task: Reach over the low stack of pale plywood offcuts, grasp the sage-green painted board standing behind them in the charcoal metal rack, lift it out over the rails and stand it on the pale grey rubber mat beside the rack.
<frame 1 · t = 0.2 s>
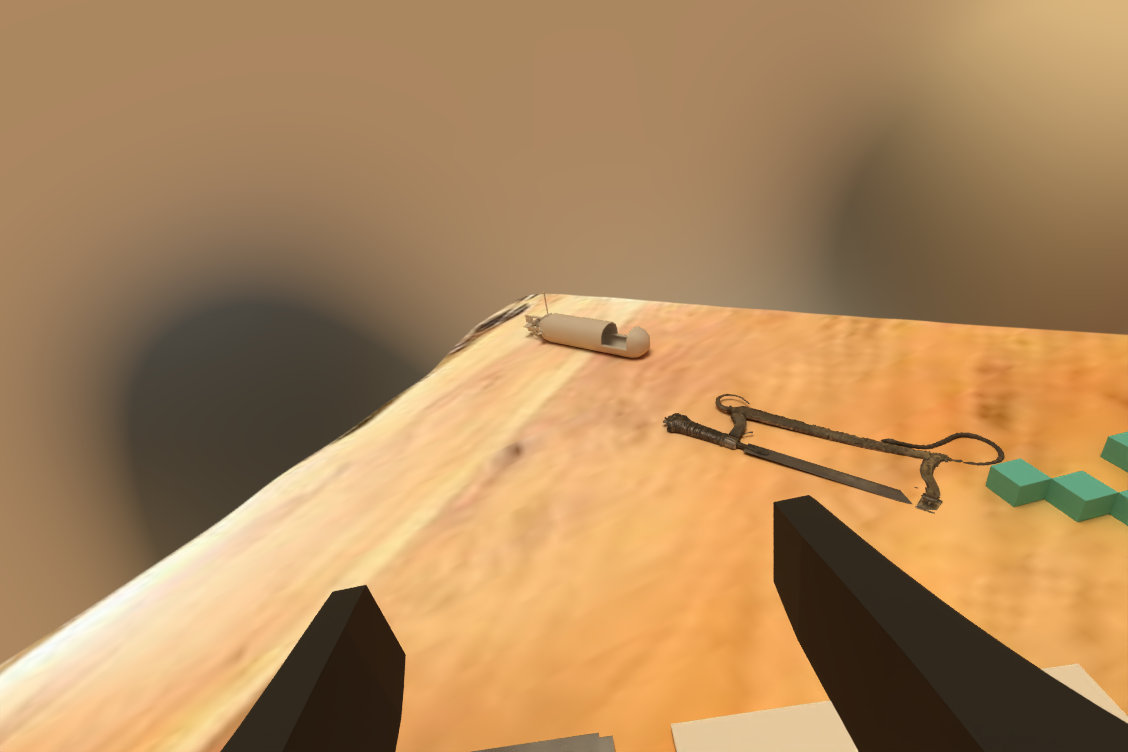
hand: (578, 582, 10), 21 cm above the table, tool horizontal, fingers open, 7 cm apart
hacksaw: (816, 441, 46), on the table
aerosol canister: (584, 347, 68), on the table
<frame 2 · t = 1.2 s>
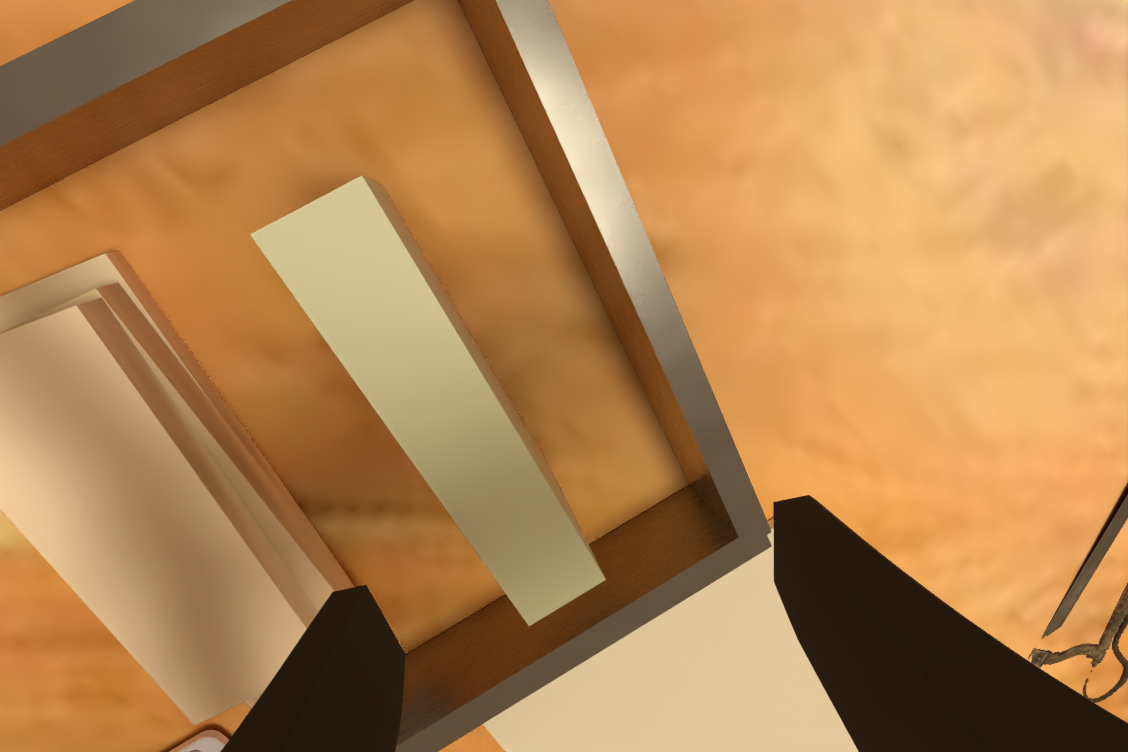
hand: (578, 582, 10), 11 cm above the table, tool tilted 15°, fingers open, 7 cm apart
rubber mat: (703, 735, 29), on the table
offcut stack: (205, 492, 19), on the table
offcut rack: (396, 389, 20), on the table
sage board: (446, 360, 20), on the table
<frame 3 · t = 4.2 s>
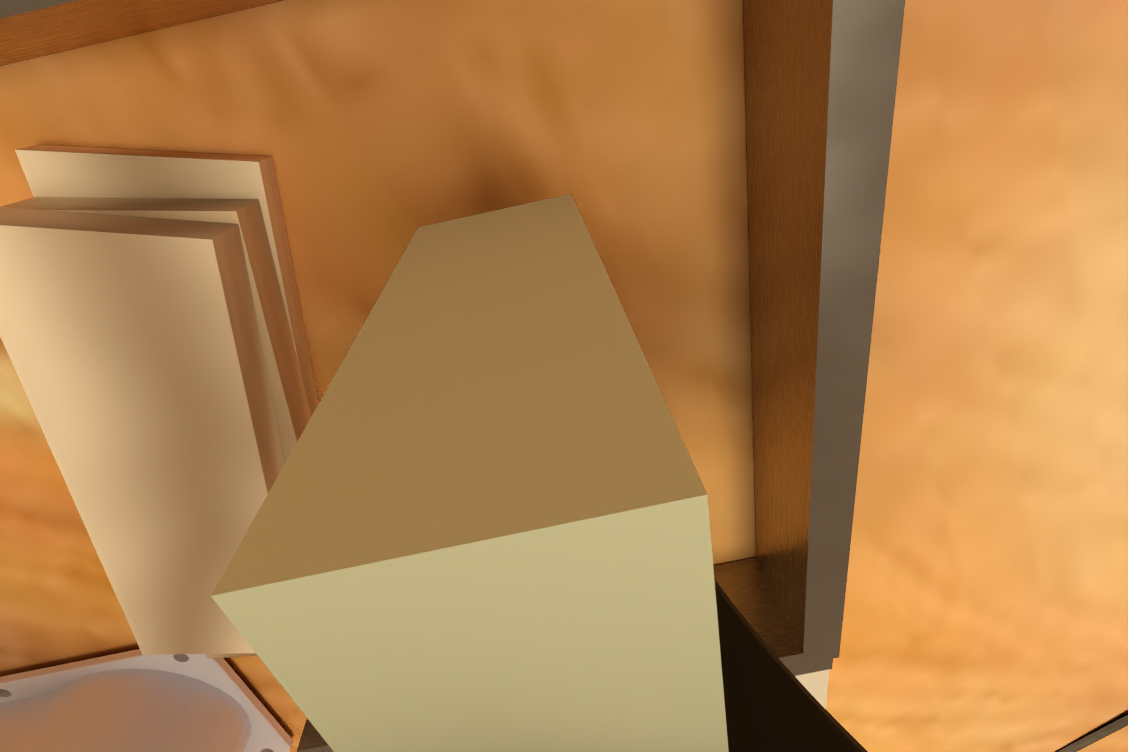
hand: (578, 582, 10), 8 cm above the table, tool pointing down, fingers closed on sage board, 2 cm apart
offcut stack: (243, 424, 17), on the table
offcut rack: (487, 382, 17), on the table
sage board: (565, 490, 12), point 5 cm above the table, touching gripper
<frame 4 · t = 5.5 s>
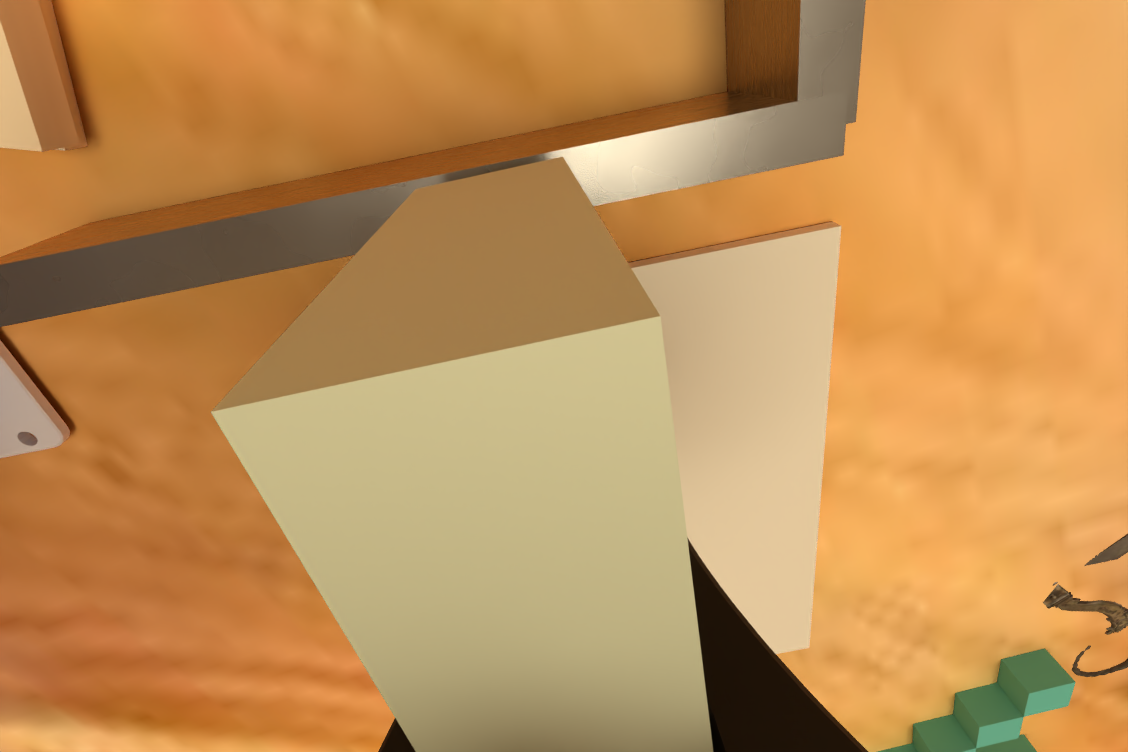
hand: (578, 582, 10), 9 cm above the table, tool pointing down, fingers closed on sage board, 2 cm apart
rubber mat: (610, 518, 21), on the table
sage board: (560, 458, 12), point 6 cm above the table, touching gripper
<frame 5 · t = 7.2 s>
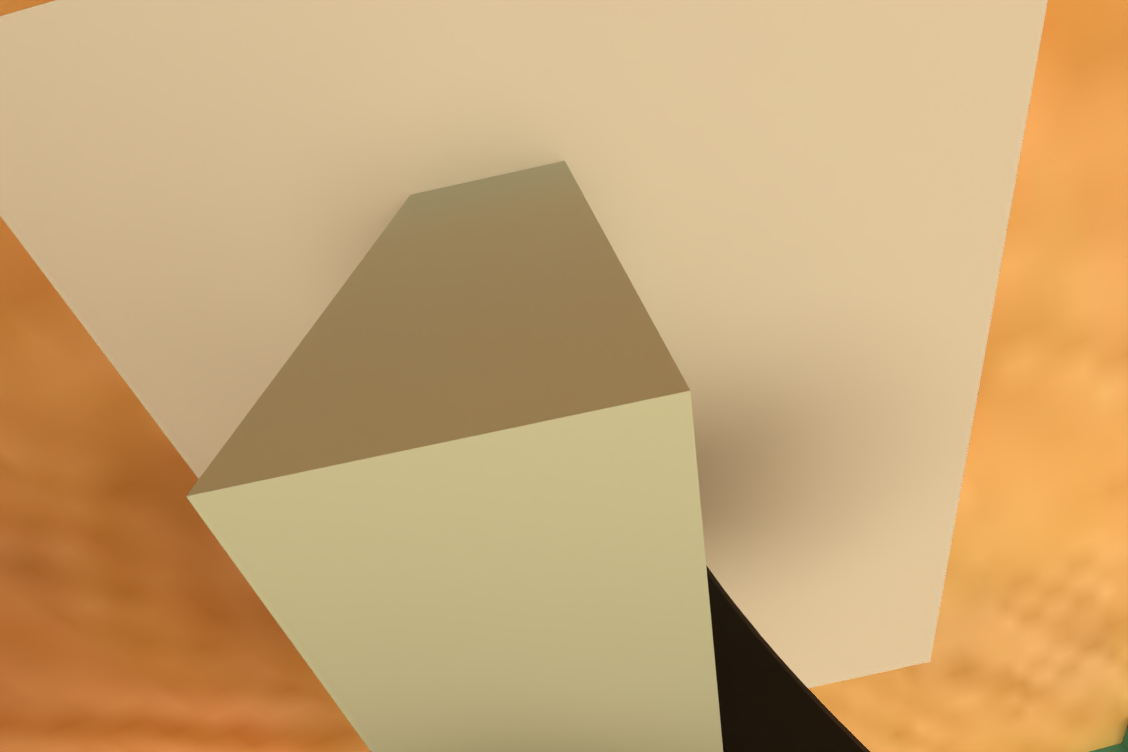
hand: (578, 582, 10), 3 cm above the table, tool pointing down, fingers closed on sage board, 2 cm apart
rubber mat: (605, 461, 12), on the table
sage board: (560, 467, 12), resting on rubber mat, touching gripper
when the fingers open (3 cm above the table, at t = 7.5 s): sage board stays where it is, resting on rubber mat.
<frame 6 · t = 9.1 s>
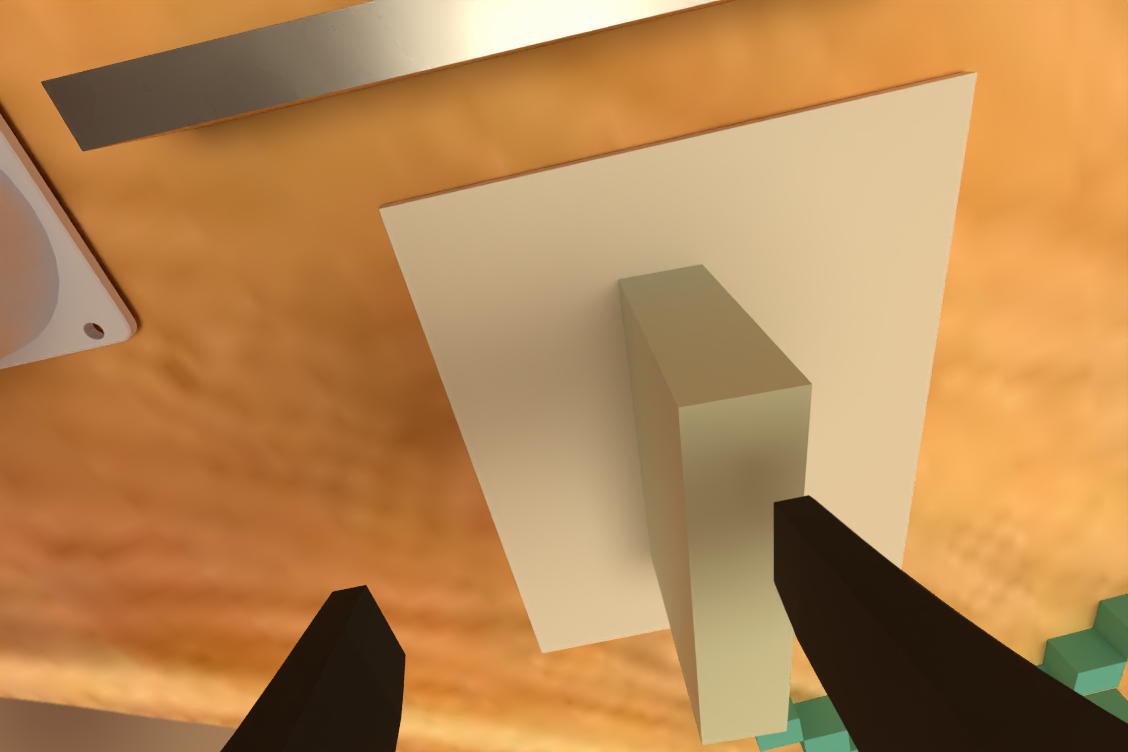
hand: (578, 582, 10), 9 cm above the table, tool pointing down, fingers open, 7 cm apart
rubber mat: (697, 432, 20), on the table
alien figure: (927, 729, 33), on the table
sage board: (673, 434, 19), resting on rubber mat
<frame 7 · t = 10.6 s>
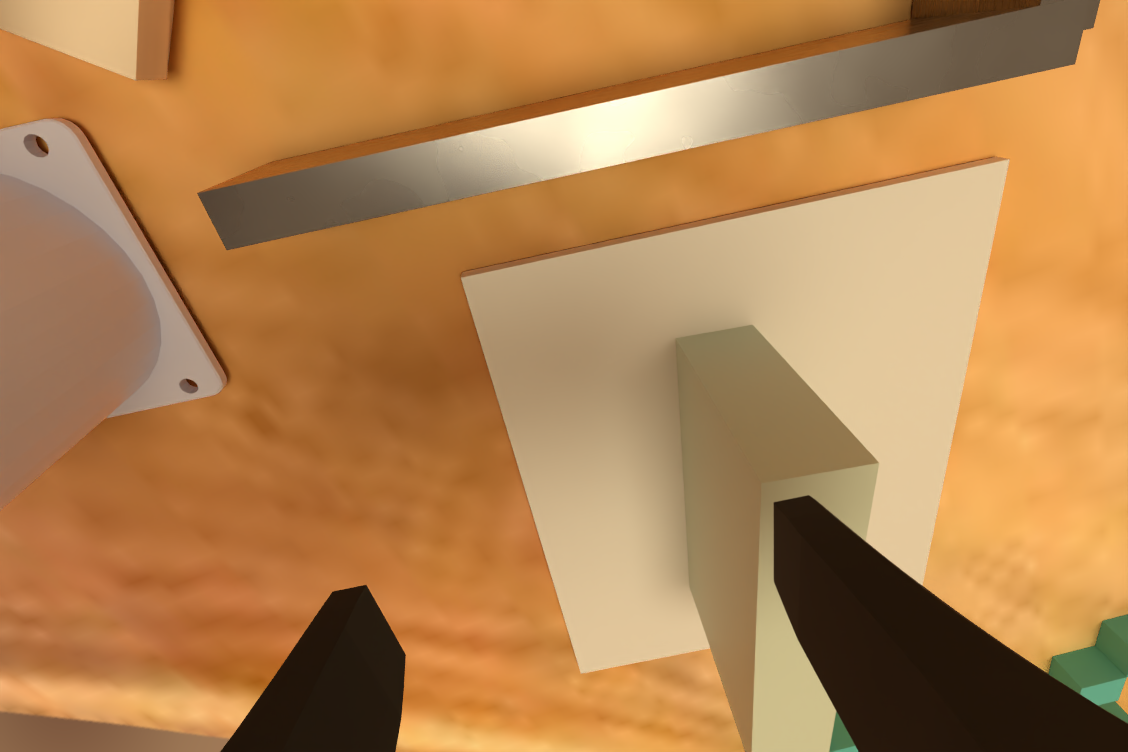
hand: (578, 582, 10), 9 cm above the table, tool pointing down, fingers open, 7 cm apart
rubber mat: (737, 471, 21), on the table
alien figure: (936, 740, 35), on the table
sage board: (716, 474, 21), resting on rubber mat
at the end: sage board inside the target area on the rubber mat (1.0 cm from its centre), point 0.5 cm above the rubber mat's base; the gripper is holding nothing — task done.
